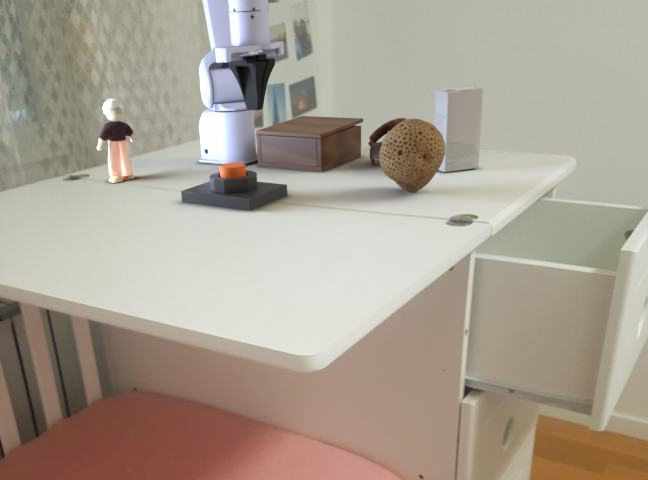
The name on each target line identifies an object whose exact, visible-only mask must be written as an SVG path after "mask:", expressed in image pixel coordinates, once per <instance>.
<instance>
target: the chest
mask: <svg viewBox="0 0 648 480" xmlns="http://www.w3.org/2000/svg"><path fill="white" fill-rule="evenodd" d="M255 140H256V154H257V155H258V160H257V167H258V168H259V167H260V168H269V169H280V170H290V171H303V172H315V173H323V172H326V171H329V170H331V169H334V168H337V167H339V166H341V165H345V164H346V163H349V162H353V161H354V160H357V159H359V158H362V125H354V126H351V127H349V128H346V129H344V130H341V131H338V132H336V133H333V134H331V135H328V136H325V137H323V138H308V137H291V136H274V135H257V134H255Z"/></svg>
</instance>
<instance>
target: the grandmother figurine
mask: <svg viewBox="0 0 648 480" xmlns="http://www.w3.org/2000/svg"><path fill="white" fill-rule="evenodd" d="M124 109H125V107H124V104H123V102H122V101H121V100H119V99H117V98H113V97H112V98H111V97H110V98H109V99H107V100H105V102H104V103H103V105H102V111H103V114H104V115H105V116H106V119H107V120H108V122H106V123H104V124H103V127H102V129H101V131H100V134H99V136H98V142H97V145H96V150H97V151H98V152H102V151H103V150H104V146H105V144H106V141H107V145H108V149H107V164H108V175H109V176H110V177H109V178H108V182H110V183H112V184H115V183H121V182H124V180H125V181H127V180H133V179H135V175H133V174H134V172H133V171H134V170H133V167H132V161H131V157H130V153H129V149H128V142H127V137H128V138H129V140H130V142H131V143H132V144H134V143H136V142H137V140H138V139H137V137H136V136H135V133H134V129H133V128H132V127H131V126H130V125H129V123H127V122H124V121H122V119H123V113H124Z"/></svg>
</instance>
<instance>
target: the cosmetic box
mask: <svg viewBox="0 0 648 480" xmlns="http://www.w3.org/2000/svg"><path fill="white" fill-rule="evenodd" d="M483 99H484V87H480V86H472V85H468V86H457V87H447V88H446V87H445V88H436V89H435V96H434V121H433V123H434V124H433V125H434V126H435V127H436V128H437V130H438V131H439V132H440V133H441V134H442V137H443V139H444V142H445V155H444V159H443V162H442V164H441V166H440V168H439V170H438V171H440V172H443V173H448V172H457V171H465V170H472V169H473V170H474V169H478V168H479V164H480V163H479V161H480V147H481V134H482V133H481V131H482V116H483Z"/></svg>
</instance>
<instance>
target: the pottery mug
mask: <svg viewBox="0 0 648 480" xmlns="http://www.w3.org/2000/svg"><path fill="white" fill-rule="evenodd" d="M404 120H408V118H406V117H397V118H394V119H392V120H388V121H387V122H385V123H383V124H381V125H380V126H379V127H377V128H376V129H375V130H374V131H373V132H372V133H371V135H370V136H369V138H368V139H369V142H368V143H367V144H368V146H369V147H370V148H369V160H370V163H371V165H372V166H374V165H375V164H376V160H380V148H381V146H382V142H383V141H379V140H381V139H382V138H383V137H385V136H386V135H387V134H388V133H389V131H390V130H391V129H392V128H394V127H395V126H396V125H398V124H399V123H400V122H402V121H404Z"/></svg>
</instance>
